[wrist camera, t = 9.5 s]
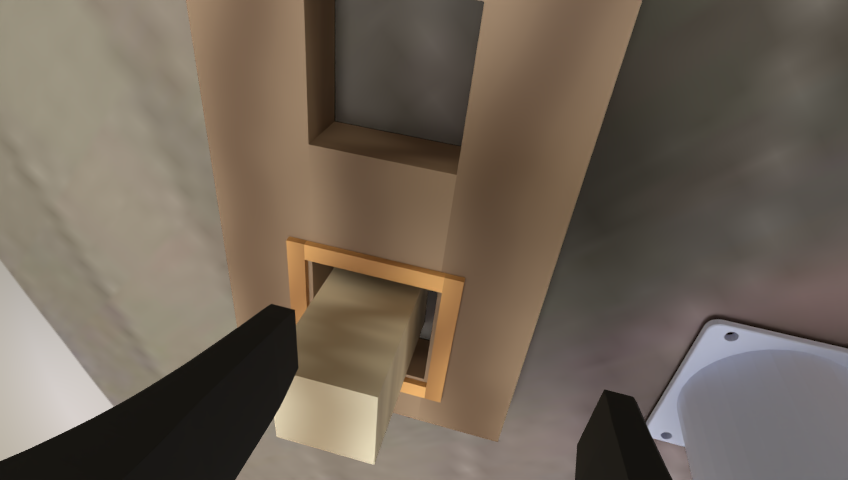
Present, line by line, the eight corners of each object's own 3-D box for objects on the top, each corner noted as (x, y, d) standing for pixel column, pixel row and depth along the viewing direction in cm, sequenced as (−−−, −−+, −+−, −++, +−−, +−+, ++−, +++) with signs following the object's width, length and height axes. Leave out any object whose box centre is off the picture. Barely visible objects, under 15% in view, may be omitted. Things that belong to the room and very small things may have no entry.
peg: (431, 260, 23) (377, 397, 16) (424, 322, 25) (374, 464, 19) (350, 242, 23) (267, 367, 17) (350, 305, 26) (276, 436, 19)
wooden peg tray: (664, -114, 14) (683, -119, 11) (502, 402, 27) (496, 447, 24) (211, -166, 16) (150, -181, 13) (267, 339, 29) (241, 375, 26)
